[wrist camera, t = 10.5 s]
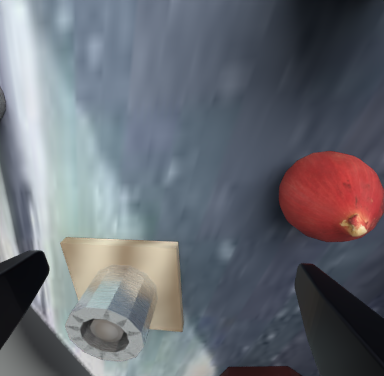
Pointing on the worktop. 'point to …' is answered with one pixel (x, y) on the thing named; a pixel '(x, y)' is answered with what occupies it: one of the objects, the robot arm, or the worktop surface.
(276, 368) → the bucket
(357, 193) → the onion
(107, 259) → the post board
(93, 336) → the steel ring
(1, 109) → the beverage cup
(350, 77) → the worktop surface
